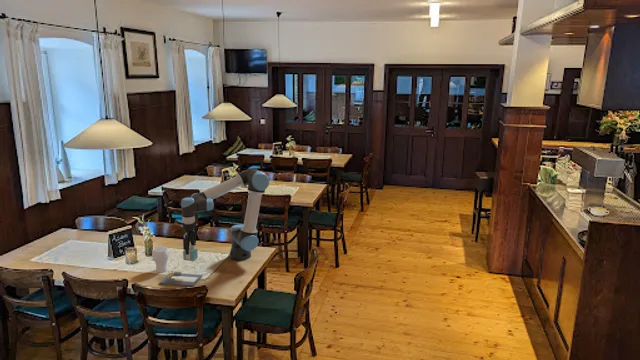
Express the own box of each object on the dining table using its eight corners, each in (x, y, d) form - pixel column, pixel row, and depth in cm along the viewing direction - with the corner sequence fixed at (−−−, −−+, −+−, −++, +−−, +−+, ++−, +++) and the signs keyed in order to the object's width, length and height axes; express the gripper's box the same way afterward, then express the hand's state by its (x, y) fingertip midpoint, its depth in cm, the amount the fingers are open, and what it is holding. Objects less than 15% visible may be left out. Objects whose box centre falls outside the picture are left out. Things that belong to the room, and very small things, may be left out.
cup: (156, 266, 300) (154, 246, 297) (172, 266, 301) (170, 245, 297) (151, 273, 290) (149, 252, 286) (168, 273, 291) (166, 252, 287)
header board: (202, 276, 287) (201, 269, 285) (192, 287, 273) (192, 279, 272) (169, 274, 290) (169, 267, 288) (159, 284, 276) (158, 277, 275)
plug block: (197, 257, 287) (197, 248, 285) (193, 261, 281) (193, 252, 280) (187, 256, 288) (187, 247, 286) (183, 260, 283) (183, 251, 281)
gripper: (189, 217, 288) (191, 250, 294) (175, 226, 270) (178, 262, 276) (200, 218, 287) (202, 251, 292) (187, 227, 269) (189, 263, 275)
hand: (190, 256), depth 284 cm, fingers closed on plug block, 5 cm apart
